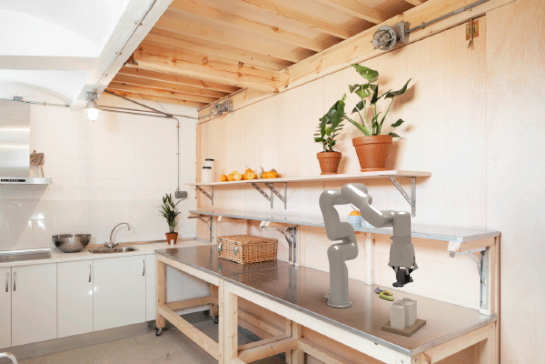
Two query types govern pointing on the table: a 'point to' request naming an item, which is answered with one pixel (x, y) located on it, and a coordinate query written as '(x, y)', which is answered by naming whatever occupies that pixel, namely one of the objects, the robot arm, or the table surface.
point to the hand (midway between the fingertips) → (403, 282)
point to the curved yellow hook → (384, 294)
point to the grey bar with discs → (401, 278)
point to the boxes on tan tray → (404, 318)
